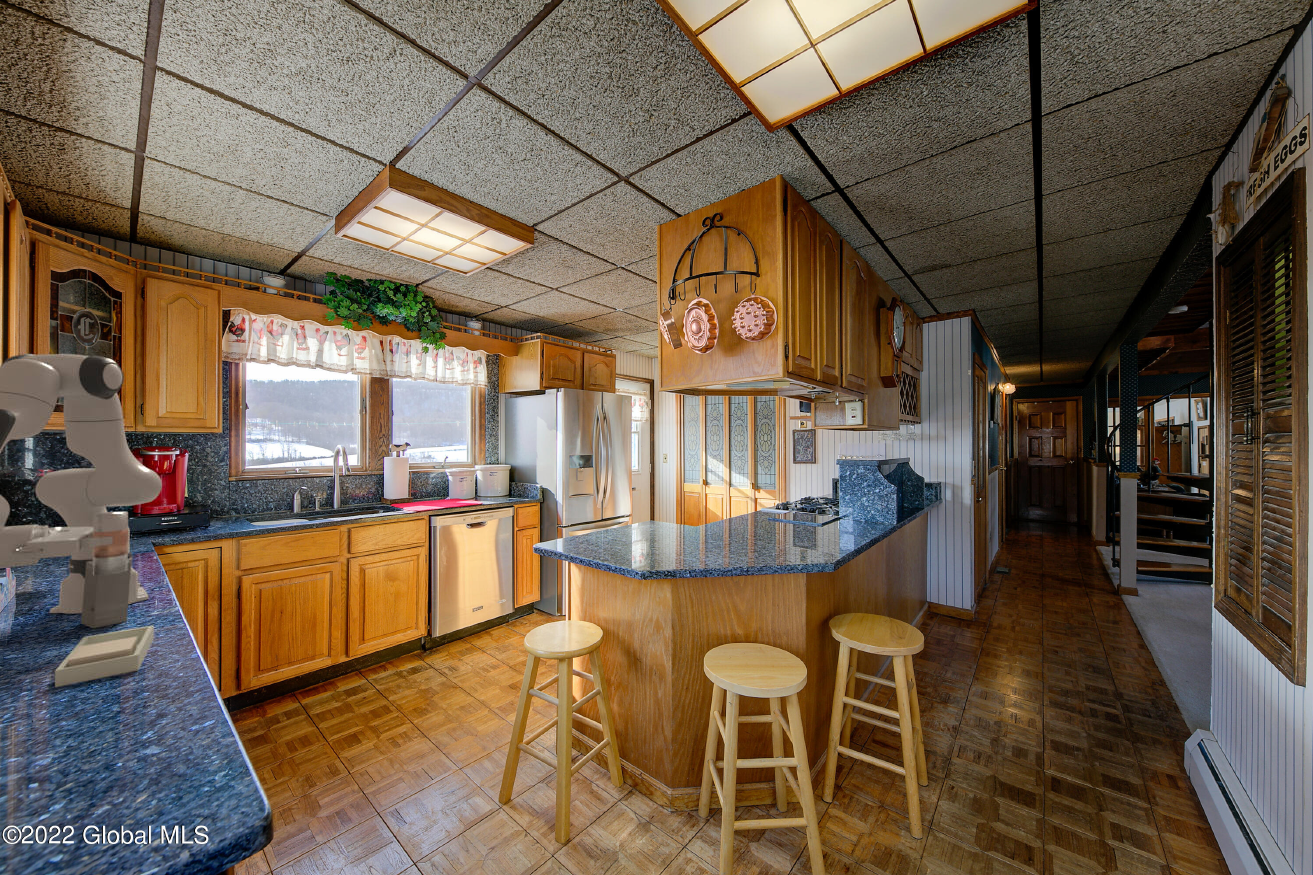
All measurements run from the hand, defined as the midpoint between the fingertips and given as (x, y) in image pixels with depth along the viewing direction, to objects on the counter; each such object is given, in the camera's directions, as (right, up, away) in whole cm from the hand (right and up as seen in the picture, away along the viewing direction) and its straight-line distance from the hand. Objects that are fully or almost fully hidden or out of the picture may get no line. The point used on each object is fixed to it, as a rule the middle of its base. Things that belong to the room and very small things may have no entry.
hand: (116, 537), depth 119 cm
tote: (+15, -23, -15) cm, 32 cm away
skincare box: (-13, -24, +10) cm, 29 cm away
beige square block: (+18, -22, -19) cm, 34 cm away
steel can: (-1, -8, -1) cm, 8 cm away
